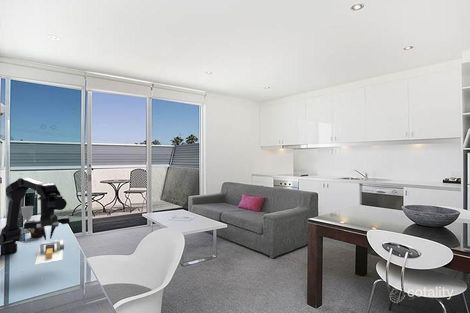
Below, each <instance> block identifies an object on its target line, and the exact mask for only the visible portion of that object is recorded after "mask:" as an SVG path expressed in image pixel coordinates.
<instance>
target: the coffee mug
mask: <svg viewBox="0 0 470 313" xmlns="http://www.w3.org/2000/svg"><path fill="white" fill-rule="evenodd" d="M39 221H40V220H35V222H39ZM36 228H37V226H34V227H33V228H30V230H29V229H28V230H29V231H30V233H29V234H30V239H39V238H40V239H41V238H44V237H43V234H42V232H41V231H40V230H39V229H36Z"/></svg>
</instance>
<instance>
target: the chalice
mask: <svg viewBox="0 0 470 313" xmlns="http://www.w3.org/2000/svg"><path fill="white" fill-rule="evenodd" d="M20 208H21V216H22V217H23V219H24V220H25V221H30V220H31V218H32V217H33V214H34V205H27V206H26V205H25V206H20ZM29 230H30V229H29ZM29 230H28V229H24V230H23V234H30V231H29Z"/></svg>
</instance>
